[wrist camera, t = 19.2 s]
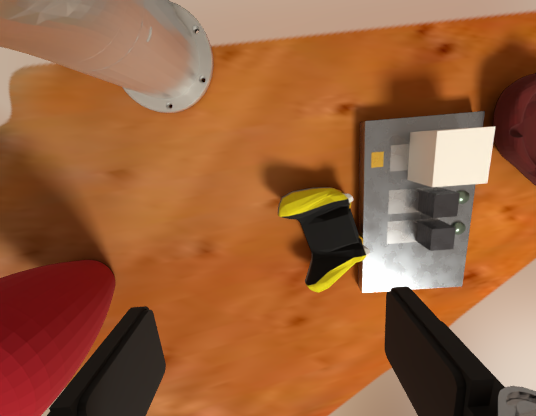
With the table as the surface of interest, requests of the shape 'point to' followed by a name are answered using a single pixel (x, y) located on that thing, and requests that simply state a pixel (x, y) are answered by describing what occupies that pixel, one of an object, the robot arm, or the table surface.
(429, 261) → the panel
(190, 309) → the table surface
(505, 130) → the ashtray
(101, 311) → the vase
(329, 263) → the gaming controller
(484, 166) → the chalk-white cube
